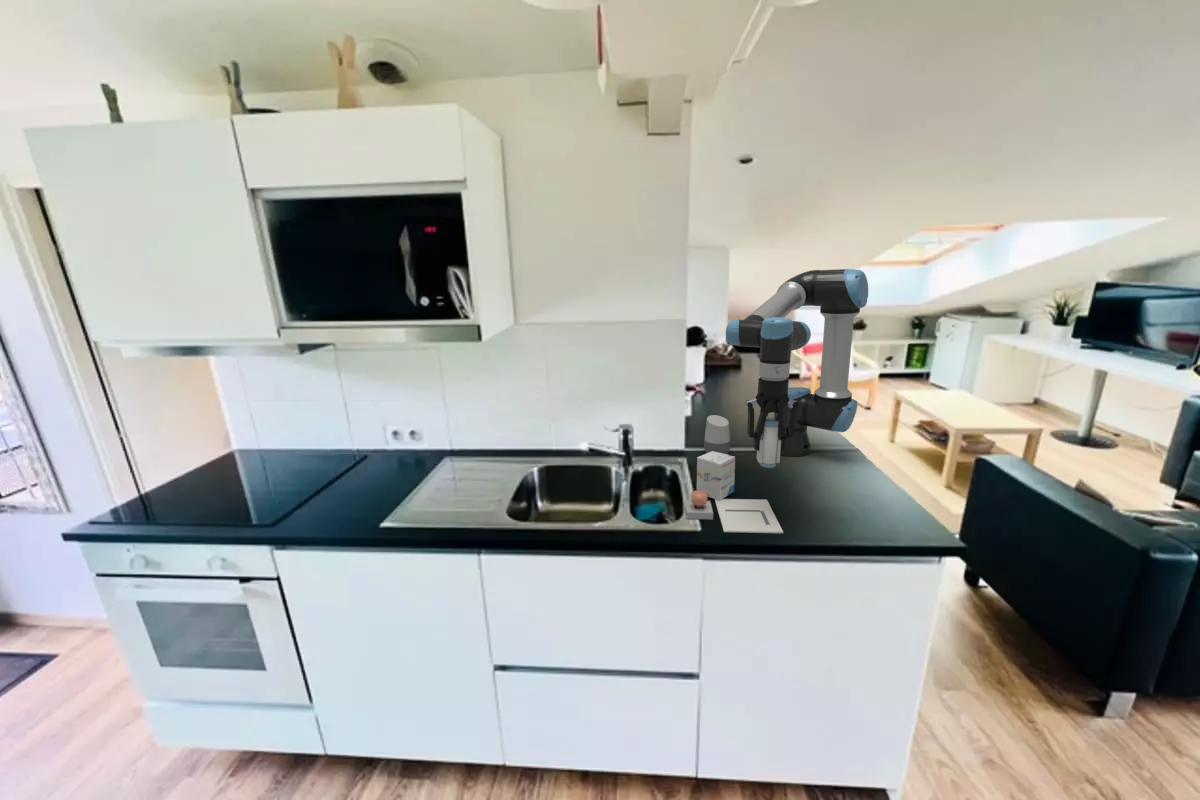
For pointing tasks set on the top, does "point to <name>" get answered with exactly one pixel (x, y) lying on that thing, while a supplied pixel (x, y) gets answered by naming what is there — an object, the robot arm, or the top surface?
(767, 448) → the marker
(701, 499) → the button
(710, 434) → the smart speaker
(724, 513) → the white flat board
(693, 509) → the button box
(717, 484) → the ink box
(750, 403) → the robot arm
